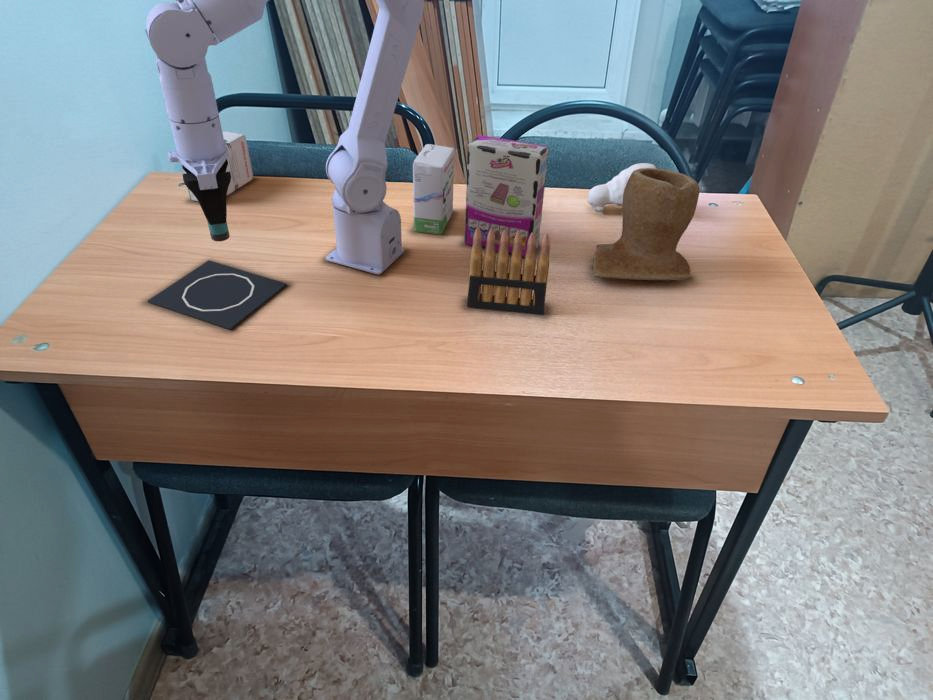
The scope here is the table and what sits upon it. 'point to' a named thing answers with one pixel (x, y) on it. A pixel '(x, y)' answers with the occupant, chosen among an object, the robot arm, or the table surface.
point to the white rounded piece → (613, 188)
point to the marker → (219, 231)
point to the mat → (218, 294)
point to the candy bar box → (505, 189)
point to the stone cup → (650, 228)
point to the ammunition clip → (508, 275)
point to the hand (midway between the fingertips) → (217, 217)
